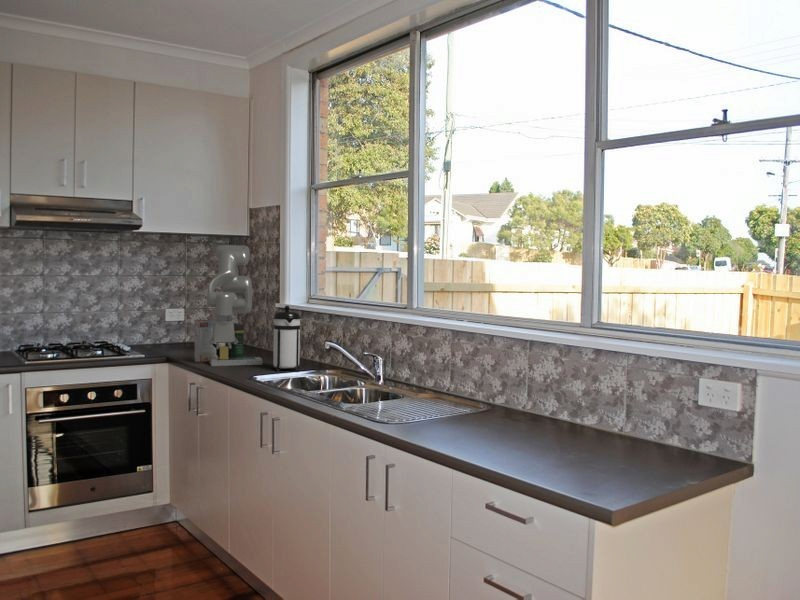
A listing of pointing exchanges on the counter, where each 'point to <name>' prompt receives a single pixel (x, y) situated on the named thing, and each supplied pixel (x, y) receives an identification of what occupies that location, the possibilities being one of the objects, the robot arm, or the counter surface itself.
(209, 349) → the cracker box
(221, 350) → the brass post
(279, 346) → the coffee press
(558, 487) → the counter surface
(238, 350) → the coffee jar
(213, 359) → the rail
